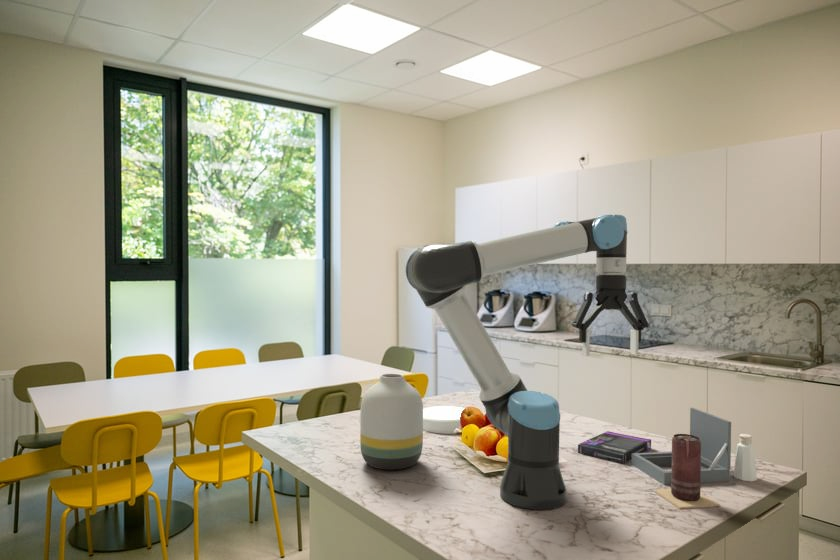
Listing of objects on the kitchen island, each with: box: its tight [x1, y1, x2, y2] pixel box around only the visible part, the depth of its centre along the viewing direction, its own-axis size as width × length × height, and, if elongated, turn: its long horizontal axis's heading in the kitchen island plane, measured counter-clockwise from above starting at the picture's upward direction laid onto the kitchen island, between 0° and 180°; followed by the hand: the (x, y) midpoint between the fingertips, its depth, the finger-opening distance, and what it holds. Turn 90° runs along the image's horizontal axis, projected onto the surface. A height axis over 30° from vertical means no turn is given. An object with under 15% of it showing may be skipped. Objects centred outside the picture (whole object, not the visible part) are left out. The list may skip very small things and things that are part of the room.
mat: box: [653, 488, 721, 510], centre depth 130 cm, size 10×10×1 cm
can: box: [670, 433, 701, 501], centre depth 130 cm, size 6×6×14 cm
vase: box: [359, 373, 424, 471], centre depth 152 cm, size 17×17×24 cm
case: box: [631, 407, 732, 486], centre depth 147 cm, size 18×15×15 cm
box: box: [577, 431, 652, 465], centre depth 165 cm, size 14×4×20 cm
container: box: [423, 405, 465, 435], centre depth 192 cm, size 20×20×5 cm
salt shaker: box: [732, 433, 758, 482], centre depth 144 cm, size 5×5×11 cm
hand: (610, 354), depth 148 cm, fingers open, 13 cm apart
